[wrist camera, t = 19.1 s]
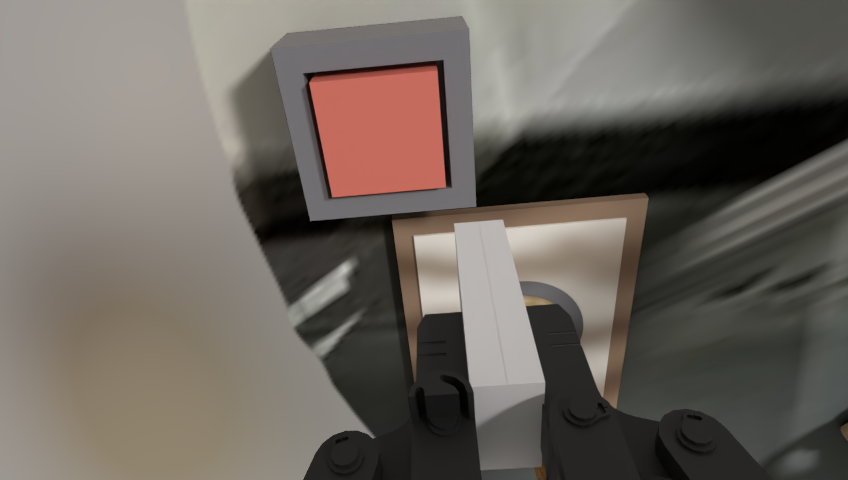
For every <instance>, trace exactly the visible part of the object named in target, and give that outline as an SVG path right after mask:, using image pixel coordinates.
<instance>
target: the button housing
mask: <svg viewBox="0 0 848 480" xmlns="http://www.w3.org/2000/svg"><path fill="white" fill-rule="evenodd" d="M270 50H271V54H272V58H273V62H274V67H275V71H276V75H277V80H278V84H279V88H280V93H281V97H282V101H283V105H284V110H285V114H286V118H287V123H288V127H289V131H290V135H291V140H292V144H293V148H294V153H295V157H296V161H297V166H298V170H299V174H300V178H301V183H302V187H303V191H304V196H305V200H306V204H307V209H308V213H309V217H310V221H317V220H328V219H340V218H351V217H363V216H374V215H386V214H397V213H409V212H420V211H432V210H443V209H455V208H466V207H476V190H475V165H474V140H473V115H472V90H471V65H470V40H469V28H468V26H467V24H466V22H465V20H464V19H463V17H462V16H460V17H450V18H439V19H429V20H419V21H409V22H398V23H388V24H378V25H368V26H357V27H347V28H337V29H327V30H317V31H306V32H296V33H287V34H286V35H285V36H283V37H282V38H281V39H280V40H279V41H278V42H277V43H276V44H274V45H273V46H272V47H271V48H270ZM426 61H436V65H437V71H438V85H439V99H440V113H441V126H442V140H443V154H444V167H445V181H446V187H445V188H434V189H422V190H411V191H400V192H388V193H377V194H366V195H354V196H343V197H332V193H331V188H330V183H329V178H328V173H327V168H326V163H325V158H324V153H323V149H322V144H321V139H320V134H319V129H318V124H317V119H316V114H315V109H314V104H313V99H312V94H311V89H310V84H309V82H310V81H311V79H312V78H313V76H314V75H315V73H316V72H321V71H332V70H342V69H353V68H363V67H374V66H384V65H395V64H405V63H416V62H426Z"/></svg>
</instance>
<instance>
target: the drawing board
mask: <svg viewBox="0 0 848 480" xmlns="http://www.w3.org/2000/svg"><path fill="white" fill-rule="evenodd" d="M648 199H649V198H648V196H647V195H646V194H645V193H638V194H627V195H615V196H604V197H592V198H581V199H569V200H558V201H546V202H535V203H523V204H512V205H500V206H489V207H477V208H466V209H454V210H443V211H431V212H420V213H408V214H397V215H392V225H393V232H394V240H395V247H396V254H397V261H398V269H399V276H400V283H401V290H402V297H403V305H404V312H405V319H406V326H407V334H408V341H409V348H410V355H411V363H412V370H413V377H414V383H415V381H416V358H417V327H418V325H419V324H420V322H421V320H422V319H423V317H424V315H425V314H437V313H451V312H461V308H460V298H459V285H458V271H457V257H456V242H455V228H454V223H466V222H479V221H491V220H503V222H504V226H505V229H506V233H507V237H508V241H509V245H510V249H511V253H512V256H513V260H514V264H515V268H516V272H517V276H518V279H519V283H520V287H521V291H522V295H523V296H524V295H526V296H535V297H540V298H544V299H546V300H548V301H550V302H552V303H554V304H559V305H560V306H561V307H562V308H563V309H564V310H565V311H566V312H567V313H568V314H569V315H570V316H571V318H572V321H573V323H574V326H575V329H576V333H577V334H578V337H579V340H580V342H581V346H582V348H583V350H584V353H585V356H586V359H587V361H588V364H589V367H590V370H591V372H592V375H593V378H594V380H595V383H596V386H597V389H598V391H599V392H600V394H601V396H602V397H603V398H604V399H606V400H607V401H608V402H609V403H610V405H611V406H612V407H614V408H615V409H616V406H617V399H618V393H619V386H620V380H621V373H622V367H623V361H624V354H625V348H626V341H627V335H628V328H629V322H630V315H631V309H632V302H633V296H634V290H635V283H636V277H637V270H638V264H639V257H640V251H641V244H642V238H643V231H644V225H645V219H646V212H647V206H648Z"/></svg>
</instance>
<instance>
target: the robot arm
mask: <svg viewBox="0 0 848 480" xmlns="http://www.w3.org/2000/svg"><path fill="white" fill-rule="evenodd" d="M454 228H455V242H456V257H457V271H458V285H459V298H460V308H461V312H451V313H437V314H425V315H424V317H423V319H422V320H421V322H420V324H419V325H418V327H417V358H416V381H415V383H414V384H413V385H412V386H411V388H410V391H409V395H408V400H409V407H410V413H411V417H410V418H409V419H408V420H407V422H406V423H405V424H403V425H402V426H401V427H399V428H398V429H396V430H394V431H392V432H390V433H388V434H385V435H382V436H379V437H377V438H374V439H372V438H371V437H370V436H369V435H368V434H365V433H362V432H360V431H344V432H341V433H338V434H336V435H333V436H332V437H330V438H329V439H328V440H326V441H325V442H324V443H323V444H322V445H321V446H320V448H319V449H318V451H317V452H316V454H315V456H314V458H313V460H312V462H311V464H310V467H309V469H308V471H307V473H306V475H305V477H304V479H303V480H482V478H481V470H494V469H512V468H530V467H542V457H543V462H544V467H545V471H546V480H772V478H771V477H770V476H769V475H768V474H767V473H766V472H765V471H764V470H763V469H762V467H761V466H760V465H759V464H758V463H757V462H756V461H755V460H754V459H753V457H752V456H751V455H750V454H749V453H748V452H747V451H746V450H745V449H744V447H743V446H742V445H741V444H740V443H739V442H738V441H737V440H736V439H735V438H734V436H733V435H732V434H731V433H730V432H729V431H728V430H727V429H726V428H725V427H724V426H723V425H722V424H721V423H719V422H718V421H717V420H716V419H715V418H713V417H710V416H708V415H706V414H704V413H702V412H699V411H694V410H689V409H682V410H673V411H671V412H669V413H667V414H666V415H664V416H663V418H662V419H661V421H660V422H658V421H653V420H648V419H644V418H639V417H635V416H631V415H628V414H625V413H623V412H621V411H619V410H617V409H615V408H614V407H612V406H611V405H610V403H609V402H608V401H607V400H606V399H604V398H603V397H602V396H601V394H600V392H599V391H598V389H597V386H596V383H595V380H594V378H593V375H592V372H591V370H590V367H589V364H588V361H587V359H586V356H585V353H584V350H583V348H582V346H581V342H580V340H579V337H578V334H577V333H576V329H575V326H574V323H573V321H572V318H571V316H570V315H569V314H568V313H567V312H566V311H565V310H564V309H563V308H562V307H561V306H560V305H559V304H547V305H533V306H525V302H524V299H523V295H522V291H521V287H520V283H519V279H518V276H517V272H516V268H515V264H514V260H513V256H512V253H511V249H510V245H509V241H508V237H507V233H506V229H505V226H504V222H503V220H491V221H479V222H466V223H454Z"/></svg>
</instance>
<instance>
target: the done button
mask: <svg viewBox="0 0 848 480" xmlns="http://www.w3.org/2000/svg"><path fill="white" fill-rule="evenodd" d="M309 84H310V89H311V94H312V99H313V104H314V109H315V114H316V119H317V124H318V129H319V134H320V139H321V144H322V149H323V153H324V158H325V163H326V168H327V173H328V178H329V183H330V188H331V193H332V197H343V196H354V195H366V194H377V193H388V192H400V191H411V190H422V189H434V188H445V187H446V181H445V167H444V154H443V140H442V126H441V113H440V99H439V85H438V71H437V65H436V61H426V62H416V63H405V64H395V65H384V66H374V67H363V68H353V69H342V70H332V71H321V72H316V73H315V75H314V76H313V78H312V79H311V81H310V82H309Z"/></svg>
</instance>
